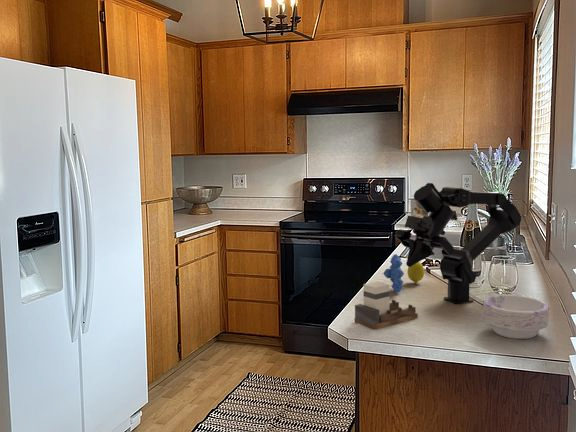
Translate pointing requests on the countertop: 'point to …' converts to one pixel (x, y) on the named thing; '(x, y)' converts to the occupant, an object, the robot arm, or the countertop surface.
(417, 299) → the countertop surface
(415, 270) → the lemon
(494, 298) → the paper bowls
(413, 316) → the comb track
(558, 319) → the countertop surface
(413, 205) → the coffee box
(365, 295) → the white banded pillar
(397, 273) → the grapes
